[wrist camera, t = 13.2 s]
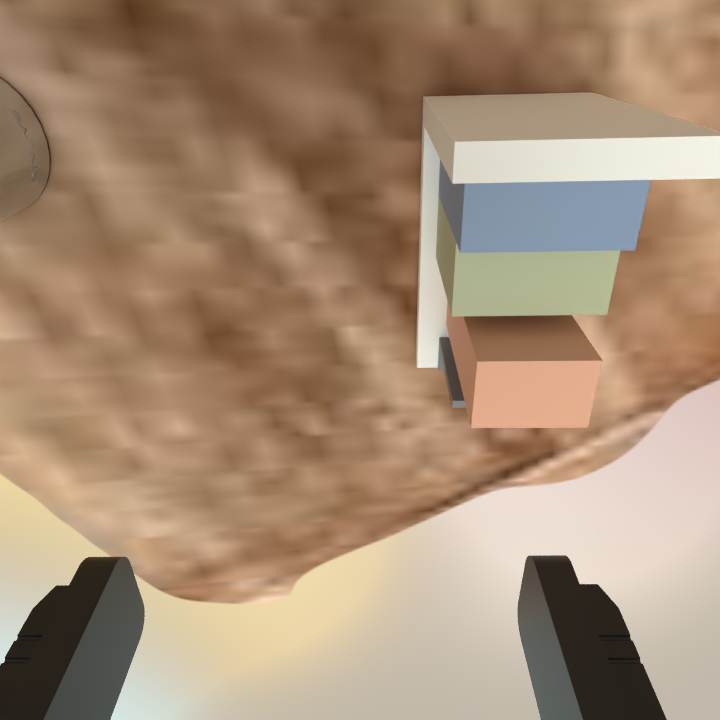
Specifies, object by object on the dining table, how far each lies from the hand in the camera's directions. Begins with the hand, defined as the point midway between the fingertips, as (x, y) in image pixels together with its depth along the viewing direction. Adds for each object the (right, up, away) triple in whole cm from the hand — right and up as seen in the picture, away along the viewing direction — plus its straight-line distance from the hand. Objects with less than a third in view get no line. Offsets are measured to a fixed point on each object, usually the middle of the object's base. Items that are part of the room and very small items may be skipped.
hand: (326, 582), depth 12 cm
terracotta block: (+10, +9, +27) cm, 30 cm away
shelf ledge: (+10, +13, +27) cm, 31 cm away
